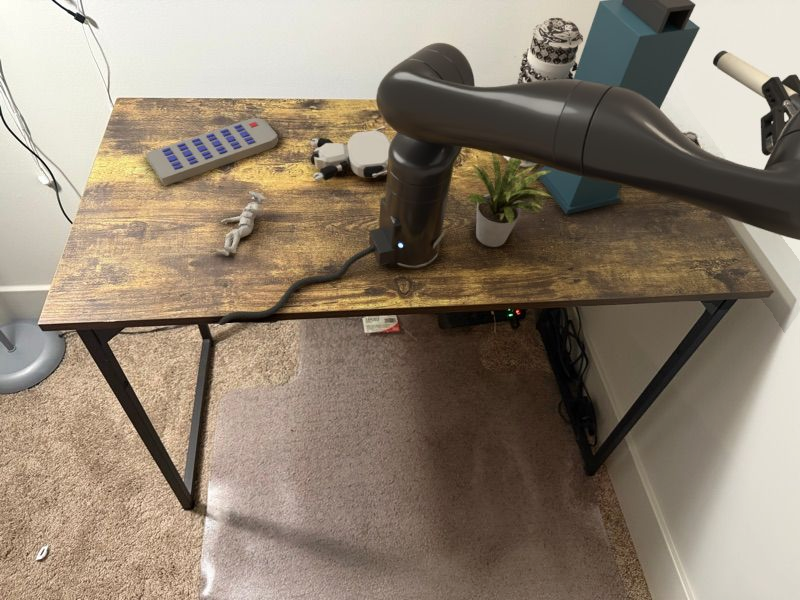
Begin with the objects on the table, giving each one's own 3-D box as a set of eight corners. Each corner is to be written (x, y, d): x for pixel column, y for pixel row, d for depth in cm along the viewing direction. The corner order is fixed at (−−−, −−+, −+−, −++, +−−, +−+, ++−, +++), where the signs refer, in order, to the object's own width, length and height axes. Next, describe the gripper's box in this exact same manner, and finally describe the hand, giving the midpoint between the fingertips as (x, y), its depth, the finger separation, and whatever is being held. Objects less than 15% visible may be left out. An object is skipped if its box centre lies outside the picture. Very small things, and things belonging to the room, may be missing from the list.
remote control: (147, 161, 101) (144, 151, 99) (262, 122, 110) (260, 113, 108) (164, 187, 97) (160, 177, 96) (281, 145, 106) (280, 135, 104)
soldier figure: (206, 255, 90) (227, 189, 94) (233, 266, 93) (252, 203, 97) (229, 245, 84) (250, 177, 88) (257, 258, 87) (276, 191, 91)
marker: (807, 118, 73) (821, 96, 71) (793, 120, 72) (807, 98, 70) (722, 65, 83) (732, 44, 81) (709, 66, 82) (719, 45, 80)
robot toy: (314, 194, 100) (398, 185, 101) (311, 175, 96) (398, 165, 97) (310, 150, 107) (389, 142, 108) (307, 130, 103) (388, 122, 105)
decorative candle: (517, 132, 113) (553, 5, 94) (555, 154, 110) (600, 27, 90) (489, 150, 109) (520, 22, 89) (527, 174, 106) (568, 46, 86)
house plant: (470, 282, 89) (490, 205, 76) (430, 223, 96) (442, 144, 83) (544, 256, 93) (575, 180, 80) (501, 202, 100) (523, 124, 87)
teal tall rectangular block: (566, 214, 100) (650, 12, 72) (535, 174, 106) (602, -27, 78) (619, 202, 103) (719, 3, 75) (586, 163, 109) (667, -34, 81)
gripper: (909, 172, 68) (843, 54, 73) (822, 189, 65) (758, 64, 69) (851, 201, 75) (794, 92, 80) (770, 218, 72) (715, 103, 76)
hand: (778, 80), depth 74 cm, fingers closed on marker, 2 cm apart
